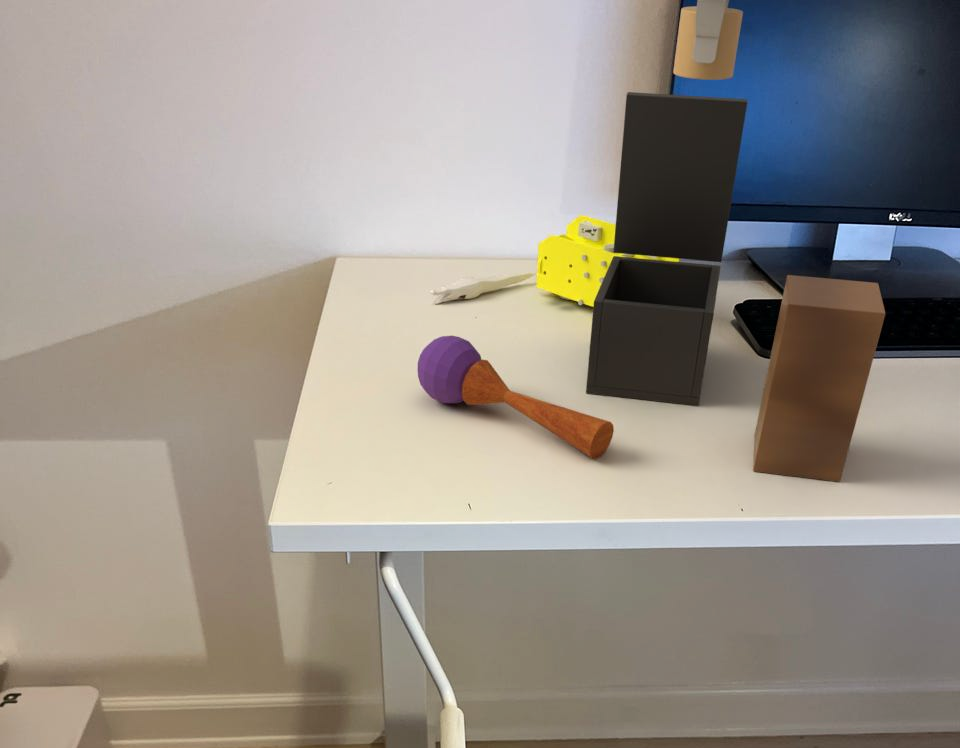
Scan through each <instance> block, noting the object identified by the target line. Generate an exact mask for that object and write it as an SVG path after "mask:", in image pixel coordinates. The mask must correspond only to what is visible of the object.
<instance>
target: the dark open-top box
mask: <svg viewBox="0 0 960 748" xmlns="http://www.w3.org/2000/svg"><path fill="white" fill-rule="evenodd" d="M721 267H722V266H721V265H718V264H707V263H695V262H694V263H693V262H683V261H680V262H674V261H663V260H651V259H640V258H629V257H618V256H613V258H612V261H611V263H610V265H609V268H608V270H607V272H606V275H605V277H604V279H603V282H602V284H601V286H600V288H599V291H598V293H597V295H596V298H595V300H594V306H593V308H592V317H591V328H590V339H589V340H590V341H589V350H588V351H589V352H588V364H587V376H586V387H585V393H586V394H591V395H599V396H600V395H601V396H607V397H616V398H617V397H618V398H623V399H624V398H626V399H633V400H643V401H652V402H661V403H668V404H669V403H670V404H679V405H686V406H694V407H695V406H697V407H699V405H700V398H701V394H702V393H701V392H702V387H703V381H704V373H705V369H706V362H707V356H708V350H709V345H710V338H711V333H712V332H711V331H712V326H713V320H714V313H715V308H716V301H717V294H718V287H719V281H720V275H721V274H720V273H721Z"/></svg>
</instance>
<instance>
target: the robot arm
mask: <svg viewBox="0 0 960 748" xmlns="http://www.w3.org/2000/svg"><path fill="white" fill-rule="evenodd" d="M729 3H730V0H697V2H696V6H697V8H696V27H695V41H694V49H693V60H694V61H695V62H696V63H712V62H714V61H715V59H716V55H717V48H718V42H719V35H720V31H721V26H722V22H723V17H724V13H725V8H729V7H728V6H729Z"/></svg>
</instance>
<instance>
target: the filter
mask: <svg viewBox="0 0 960 748" xmlns="http://www.w3.org/2000/svg"><path fill="white" fill-rule="evenodd" d="M696 8H697V5H696V6H694V5H693V6H685V7H682V8H681V10H680V17H679V25H678V31H677V39H676V40H677V41H676V47H675V54H674V55H675V56H674V64H673V74H674V75H675V76H677V77H681V78H685V79H693V80H703V81H708V80H709V81H719V80H720V81H721V80H728V79H731V78H733V77H734V71H735V64H736V59H737V53H738V47H739V46H738V45H739V39H740V33H741V27H742V22H743V16H744V11H743V10H741V9H737V8H732V7H731V8H730V7H727V8H725V13H724V17H723V22H722V26H721V31H720V35H719V42H718V48H717V55H716V59H715V61H714V62H712V63H696V62H695V61H694V60H693V49H694V41H695V27H696Z"/></svg>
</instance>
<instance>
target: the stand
mask: <svg viewBox="0 0 960 748" xmlns="http://www.w3.org/2000/svg"><path fill="white" fill-rule="evenodd" d="M885 318H886V310H885V305H884V302H883V297H882V294H881V289H880V286H879V283H878V282H870V281H861V280H859V281H858V280H848V279H839V278H838V279H837V278H825V277H815V276H804V275H793V274H787V275H786V279H785V284H784V288H783V293H782V298H781V304H780V309H779V313H778V318H777V323H776V329H775V332H774V338H773V343H772V347H771V352H770V357H769V362H768V367H767V372H766V377H765V381H764V385H763V386H764V387H763V391H762V396H761V401H760V407H759V410H758V416H757V420H756V426H755V430H754V439H753V460H752V461H753V463H752V471H753V472H755V473H764V474H765V473H766V474H773V475H779V476H780V475H781V476H789V477H796V478H803V479H804V478H805V479H813V480H821V481H830V482H838V483H840V482H841V479H842V476H843V472H844V469H845V464H846V461H847V457H848V454H849V450H850V446H851V442H852V438H853V435H854V431H855V428H856V423H857V420H858V417H859V412H860V409H861V406H862V401H863V398H864V395H865V391H866V387H867V385H868V384H867V383H868V381H869V376H870V372H871V369H872V365H873V361H874V357H875V354H876V350H877V348H878V347H877V346H878V343H879V339H880V336H881V332H882V328H883V324H884V320H885Z"/></svg>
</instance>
